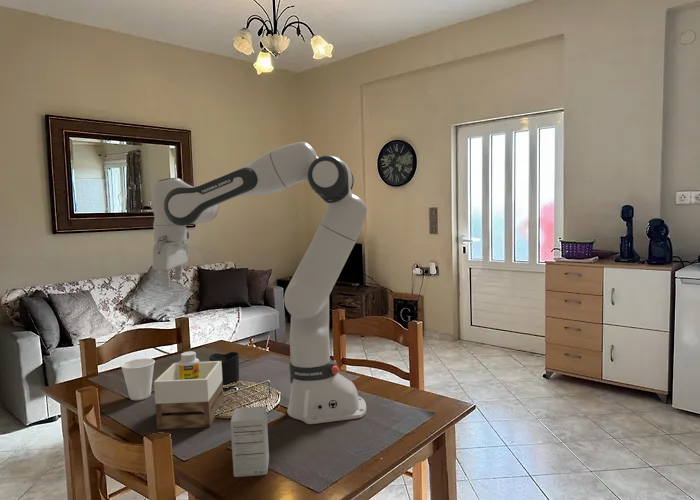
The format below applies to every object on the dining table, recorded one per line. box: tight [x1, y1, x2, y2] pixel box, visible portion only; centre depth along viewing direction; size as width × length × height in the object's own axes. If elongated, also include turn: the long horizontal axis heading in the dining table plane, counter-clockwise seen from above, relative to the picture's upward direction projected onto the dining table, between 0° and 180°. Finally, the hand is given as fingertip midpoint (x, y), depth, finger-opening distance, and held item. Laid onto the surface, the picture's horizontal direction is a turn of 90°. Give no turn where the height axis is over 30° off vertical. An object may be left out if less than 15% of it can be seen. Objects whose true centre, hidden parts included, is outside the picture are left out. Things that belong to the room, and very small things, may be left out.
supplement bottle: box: [178, 350, 200, 380], centre depth 138 cm, size 6×6×10 cm
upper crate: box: [153, 360, 223, 405], centre depth 138 cm, size 14×16×6 cm
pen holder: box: [208, 351, 240, 385], centre depth 162 cm, size 9×9×10 cm
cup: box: [120, 357, 156, 401], centre depth 154 cm, size 10×10×11 cm
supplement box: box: [230, 405, 270, 478], centre depth 109 cm, size 7×7×13 cm
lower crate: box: [155, 381, 225, 430], centre depth 138 cm, size 14×16×7 cm
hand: (172, 282), depth 143 cm, fingers open, 8 cm apart
